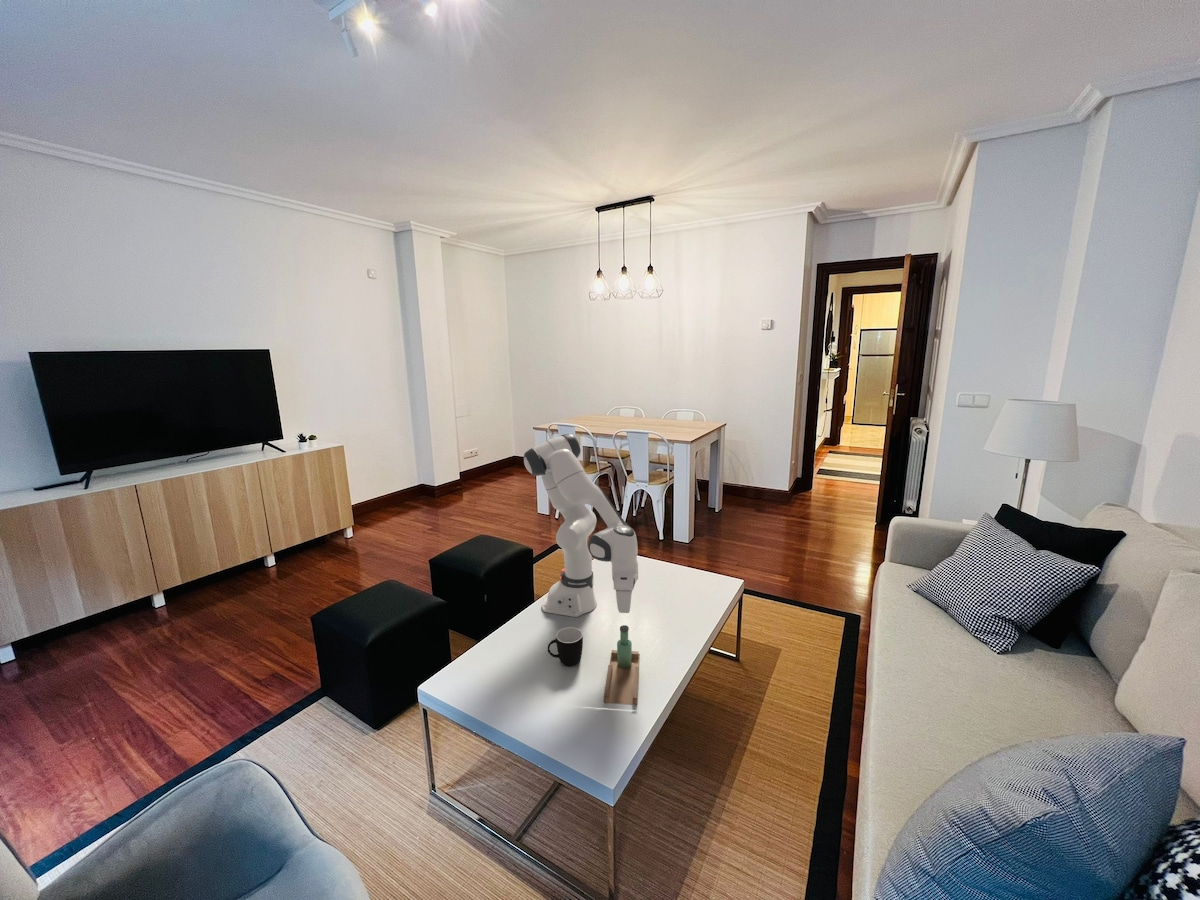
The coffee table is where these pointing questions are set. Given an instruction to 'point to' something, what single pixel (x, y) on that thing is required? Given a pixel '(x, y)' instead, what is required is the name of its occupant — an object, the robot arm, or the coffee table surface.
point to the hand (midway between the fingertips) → (626, 610)
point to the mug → (568, 646)
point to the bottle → (624, 649)
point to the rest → (622, 681)
